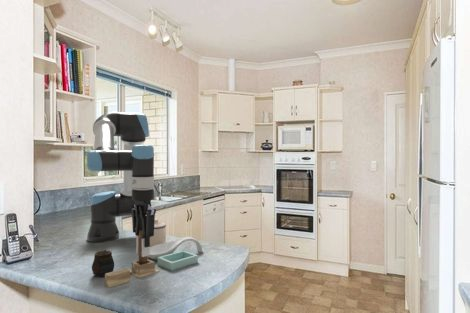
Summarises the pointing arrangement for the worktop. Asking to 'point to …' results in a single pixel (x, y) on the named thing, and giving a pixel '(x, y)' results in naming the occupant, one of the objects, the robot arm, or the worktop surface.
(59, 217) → the worktop surface
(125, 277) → the block
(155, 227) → the beige lidded jar
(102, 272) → the mate gourd
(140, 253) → the dowel
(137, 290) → the worktop surface
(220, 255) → the worktop surface
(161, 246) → the spoon rest
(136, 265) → the socket block
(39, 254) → the worktop surface
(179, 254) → the tray
